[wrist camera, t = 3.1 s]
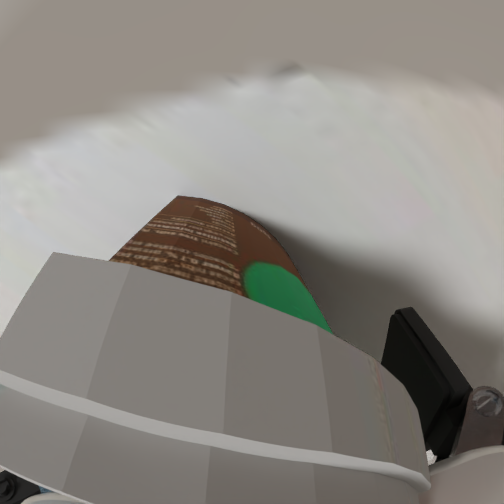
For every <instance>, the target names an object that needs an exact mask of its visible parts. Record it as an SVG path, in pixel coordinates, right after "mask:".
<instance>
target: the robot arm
mask: <svg viewBox="0 0 504 504" xmlns="http://www.w3.org/2000/svg"><path fill="white" fill-rule="evenodd" d="M381 365H382V366H383V367H384V368H386V369H387V370H388V371H389V372H390V373H391V374H392V375H393V376H394V377H395V378H397V379H398V380H399V381H400V382H401V383H402V384H403V385H404V386H405V388H406V390H407V392H408V393H409V395H410V397H411V399H412V401H413V402H414V404H415V406H416V408H417V410H418V414H419V418H420V423H421V428H422V433H423V438H424V444H425V449H426V451H428V450H432V452H433V454H434V458H433V461H432V463H431V465H429V466H428V467H429V474H430V481H431V489H429V490H427V491H424V492H421V493H417V494H418V498H419V502H420V504H504V396H503V395H502V394H501V393H500V392H499V391H498V390H496V389H495V388H492V387H489V386H482V387H478V388H476V389H474V390H473V389H472V387H471V386H470V384H469V383H468V382H467V380H466V379H465V377H464V376H463V374H462V373H461V371H460V370H459V368H458V367H457V366H456V364H455V363H454V361H453V360H452V359H451V357H450V356H449V354H448V353H447V352H446V350H445V349H444V348H443V346H442V345H441V343H440V342H439V341H438V340H437V339H436V337H435V336H434V335H433V333H432V332H431V331H430V329H429V328H428V327H427V325H426V324H425V323H424V321H423V320H422V319H421V318H420V316H419V315H418V314H417V312H416V311H415V310H414V309H413V308H412V307H408V308H403V309H398V310H396V311H395V314H394V315H392V316H391V318H390V323H389V328H388V334H387V338H386V343H385V348H384V353H383V357H382V361H381ZM0 504H87V503H84V502H81V501H78V500H76V499H73V498H70V497H67V496H65V495H62V494H59V493H57V492H54V491H51V490H49V489H46V488H44V487H41V486H39V485H37V484H34V483H32V482H30V481H27V480H25V479H23V478H21V477H19V476H17V475H15V474H13V473H10V472H8V471H7V470H4V471H3V472H1V473H0Z"/></svg>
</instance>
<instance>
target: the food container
mask: <svg viewBox="0 0 504 504" xmlns="http://www.w3.org/2000/svg"><path fill="white" fill-rule="evenodd" d="M0 467H1V468H3V469H5V470H7V471H8V472H10V473H13V474H15V475H17V476H19V477H21V478H23V479H25V480H27V481H30V482H32V483H34V484H37V485H39V486H41V487H44V488H46V489H49V490H51V491H54V492H57V493H59V494H62V495H65V496H67V497H70V498H73V499H76V500H78V501H81V502H84V503H87V504H420V502H419V498H418V494H417V493H421V492H424V491H427V490H429V489H431V481H430V474H429V467H428V461H427V455H426V449H425V444H424V438H423V433H422V428H421V423H420V418H419V414H418V410H417V408H416V406H415V404H414V402H413V401H412V399H411V397H410V395H409V393H408V392H407V390H406V388H405V386H404V385H403V384H402V383H401V382H400V381H399V380H398V379H397V378H395V377H394V376H393V375H392V374H391V373H390V372H389V371H388V370H387V369H386V368H384V367H383V366H382V365H381V364H380V363H379V362H378V361H377V360H376V359H374V358H373V357H372V356H370V355H368V354H367V353H365V352H363V351H361V350H359V349H358V348H356V347H354V346H352V345H351V344H349V343H347V342H345V341H344V340H342V339H340V338H338V337H336V336H335V335H333V333H332V331H331V329H330V327H329V326H328V324H327V322H326V320H325V319H324V317H323V315H322V313H321V311H320V310H319V308H318V306H317V304H316V303H315V301H314V299H313V297H312V295H311V294H310V292H309V290H308V288H307V287H306V285H305V283H304V281H303V280H302V278H301V276H300V274H299V273H298V271H297V269H296V268H295V266H294V264H293V262H292V261H291V259H290V257H289V255H288V254H287V252H286V251H285V250H284V248H283V247H282V246H281V245H280V243H279V242H278V241H277V239H276V238H275V237H274V236H272V235H271V234H270V233H269V232H268V231H267V230H266V229H265V228H264V227H263V226H262V225H260V224H259V223H257V222H256V221H254V220H253V219H251V218H250V217H248V216H247V215H245V214H244V213H241V212H239V211H237V210H235V209H233V208H230V207H228V206H226V205H224V204H221V203H217V202H213V201H210V200H206V199H203V198H195V197H187V196H177V197H176V198H174V199H173V200H172V201H171V202H170V203H169V204H168V205H167V206H166V207H164V208H163V209H162V210H161V211H160V212H159V213H158V214H157V215H156V216H155V217H153V218H152V219H151V220H150V221H149V222H148V223H147V224H146V225H145V226H144V227H143V228H142V229H141V230H140V231H139V232H137V233H136V234H135V235H134V236H133V237H132V238H131V239H130V240H129V241H128V242H127V243H126V244H125V245H124V246H123V247H122V248H121V249H120V250H119V251H118V252H117V253H116V254H115V255H114V256H113V257H112V258H111V259H110V260H109V261H105V260H99V259H93V258H86V257H80V256H74V255H68V254H62V253H56V252H53V253H52V255H51V256H50V258H49V259H48V261H47V262H46V263H45V265H44V266H43V268H42V269H41V271H40V272H39V274H38V275H37V277H36V278H35V280H34V282H33V283H32V285H31V286H30V288H29V289H28V291H27V293H26V294H25V296H24V298H23V299H22V301H21V302H20V304H19V306H18V308H17V309H16V311H15V313H14V314H13V316H12V318H11V320H10V321H9V323H8V325H7V327H6V329H5V331H4V332H3V334H2V336H1V338H0Z"/></svg>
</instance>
